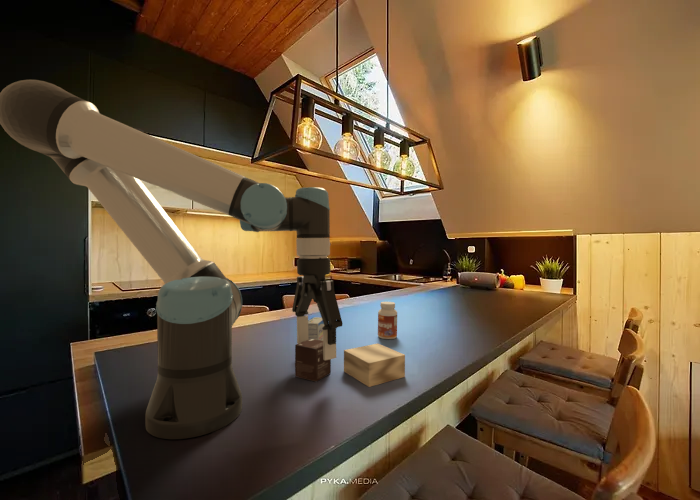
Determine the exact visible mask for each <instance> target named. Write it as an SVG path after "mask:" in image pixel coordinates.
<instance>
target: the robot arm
mask: <svg viewBox="0 0 700 500" xmlns="http://www.w3.org/2000/svg"><path fill="white" fill-rule="evenodd" d="M0 125H1V127H2V128H3V129H4V132H6V134H8V136H10V138H12V139H13V140H14V141H16V142H17V143H18V144H20V145H21V146H24V147H25V148H27V149H30V150H32V151H35V152H37V153H40V154H42V155H45V156H47V157H49V158H51V159H52V160H53V161H54V162H55V164H56V165H57V166H58V167H59V169H61V171H62V172H63V173H64V174H65V176H66V177H67V178H68V180H70V181H71V183H73V184H74V185H77V186H82V187H86V188H87V189H88V190H89V191H90V192H91V194H92V195H93V196H94V197H95V199H96V200H97V201H98V202H99V204H100V205H101V206H102V207H103V208H104V210H105V211H106V212H107V213H108V215H109V216H110V218H111V219H113V221H114V222H115V224H116V225H117V226H118V227H119V229H120V230H121V231H122V232H123V233H124V235H125V236H126V238H128V240H129V241H130V242H131V243H132V244H133V246H134V247H135V248H136V250H137V251H138V252H139V253H140V255H141V256H142V257H143V258H144V260H145V261H146V262H147V263H148V264H149V266H150V267H151V269H152V270H153V271H154V272H155V273H156V275H157V276H158V277H159V278H160V279H161V280H162V282H163V283H164V284H163V285H162V286H161V287H160V288H159V290H158V294H157V301H156V303H155V305H156V306H155V311H156V318H157V319H156V323H157V324H156V326H157V328H156V330H157V333H156V334H157V335H156V336H157V337H156V338H157V339H156V341H157V343H156V345H157V377H156V381H155V384H154V387H153V389H152V392H151V396H150V397H149V401H148V404H147V407H146V410H145V417H144V418H145V423H144V424H145V426H144V427H145V430H146V432H147V434H149V435H151V436H153V437H155V438H159V439H164V440H183V439H191V438H195V437H196V438H197V437H200V436H203V435H204V436H205V435H207V434H210V433H213V432H216V431H218V430H220V429H223V428H225V427H226V426H228V425H229V424H230V423H232V422H234V421H235V420H236V418H238V417H239V416H240V414H241V413H242V410H243V395H242V391H241V389H240V388H241V387H240V385H239V383H238V380H237V377H236V374H235V371H234V368H233V365H232V364H233V360H232V359H233V357H232V356H233V354H232V352H233V351H232V350H233V346H232V345H233V341H232V340H233V339H232V338H233V337H232V336H233V333H232V332H233V331H232V330H233V326H234V324H235V323H236V321H237V320H238V319H239V316H240V315H241V312H242V308H243V297H242V296H243V295H242V293H241V290H240V288H239V287H238V285H237V284H236V283H235V282H234V281H233V280H231V279H230V278H228V277H226V276H225V275H224V273H223V272H222V271H221V269H220V268H219V267H218V265H217V264H216V263H215V262H214V261H212V260H205V259H203V257H201V256H200V254H199V253H198V251H197V250H196V249H195V247H194V246H193V245H192V244H191V243H190V241H189V240H188V239H187V238H186V236H185V235H184V233H183V232H182V231H181V230H180V228H179V227H178V226H177V224H175V222H174V221H173V220H172V218H171V217H170V216H169V215H168V213H167V212H166V211H165V209H164V208H163V207H162V205H161V204H160V202H159V201H158V200H157V199H156V198H155V196H154V195H153V193H152V192H151V191H150V190H149V188H148V187H147V186H146V185H145V183H148V184H150V185H152V186H155V187H158V188H160V189H163V190H165V191H168V192H170V193H173V194H175V195H178V196H180V197H182V198H185V199H188V200H190V201H193V202H195V203H198V204H200V205H202V206H205V207H208V208H209V209H213V210H214V211H217V212H220V213H223V214H225V215H227V216H229V217H232V218H234V219H236V220H239V225H240V229H241V230H242V231H245V232H254V233H259V232H293V231H294V232H296V241H295V243H296V256H298V257H299V258H297V260H296V272H297V273H296V274H297V275H298V276H297V277H296V287H295V293H294V297H293V303H292V310H291V311H292V313H295V315H294V316H296V344H299V343H301V342H303V341H306V340H309V339H308V320H309V311H308V310H309V307H310V305H311V303H312V301H313V302H314V303H316V306H317V308H318V312H319V314H320V317H321V318H322V320H323V322H324V325H325V326H324V327H323V328H322V329H323V359H324V360H329V359H331V360H333V359H334V360H335V359H337V329H338V328H340V327H343V320H342V317H341V311H340V308H339V304H338V300H337V297H336V292H335V282H334V280H332V279H331V280H326V276H327V275H330V274H331V259H330V257H329V256H330V254H331V242H330V238H331V236H330V233H331V228H330V227H331V226H330V225H331V223H330V222H331V220H330V217H331V216H330V212H331V208H330V199H329V192H328V191H327V190H326V189H325V188H323V187H315V186H311V187H310V186H309V187H300V188H297V189H296V190H295V195H294V196H291V197H285V195H284V194H283V192H282V191H281V190H280V189H279V188H278V187H276V186H275V185H273V184H271V183H267V182H258V181H256V180H253V179H251V178H248V177H246V176H244V175H242V174H241V173H240V174H239V173H238V172H235V171H233V170H231V169H228V168H226V167H223V166H221V165H219V164H218V163H215V162H212V161H210V160H209V159H206V158H203V157H201V156H198V155H196V154H193V153H192V152H189V151H187V150H185V149H182V148H181V147H177V146H175V145H173V144H171V143H168V142H166V141H164V140H161V139H159V138H157V137H154V136H152V135H150V134H148V133H145V132H143V131H140V130H138V129H137V128H133V127H132V126H129V125H127V124H125V123H122V122H121V121H118V120H115V119H113V118H111V117H108V116H106V115H104V114H102V113H100V111H99V109H98V108H97V106H96V105H95V104H94V103H92V102H90V101H88V100H85V99H83V98H81V97H78V96H76V95H74V94H73V93H71V92H68V91H66V90H65V89H63V88H62V87H60V86H57V85H56V84H54V83H51V82H48V81H44V80H39V79H23V80H18V81H15V82H12V83H10V84H8V85H6V87H4V88H3V89H2V90H1V92H0ZM144 182H145V183H144Z"/></svg>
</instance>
